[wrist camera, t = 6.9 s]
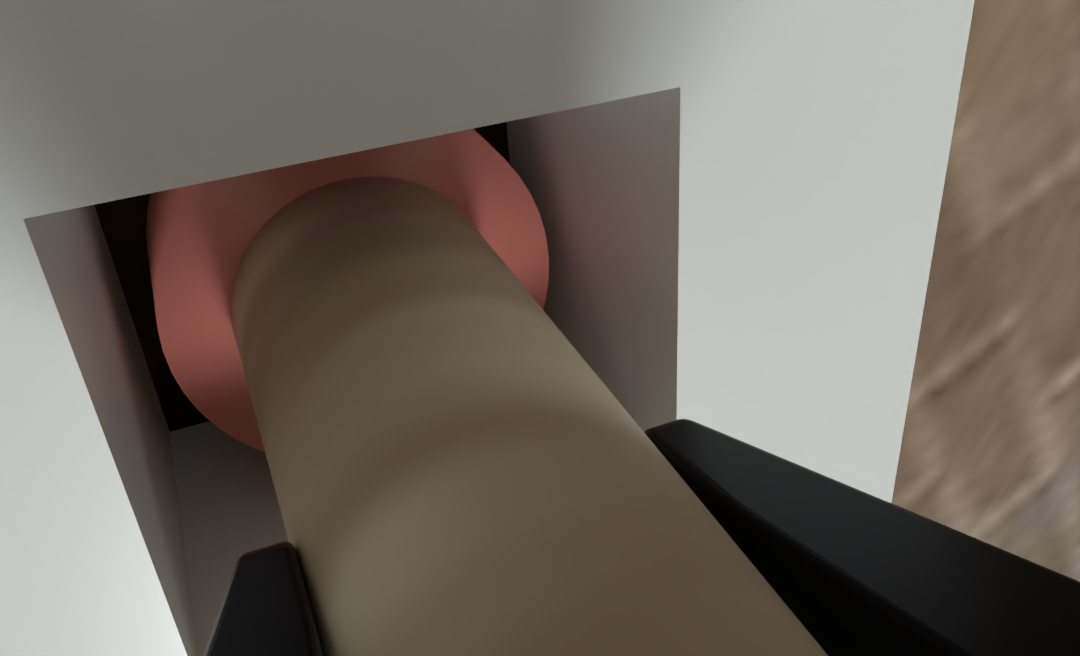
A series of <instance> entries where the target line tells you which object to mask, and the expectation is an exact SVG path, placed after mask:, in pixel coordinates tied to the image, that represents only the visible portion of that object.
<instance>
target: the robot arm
mask: <svg viewBox="0 0 1080 656" xmlns="http://www.w3.org/2000/svg"><path fill="white" fill-rule="evenodd" d="M644 433H645V434H646V435H647V436H648V438H649V439H650V440H651V441H652V443H653V444H654V445H655V446H656V447H657V449H658V450H659V451H660V452H661V453H662V455H663V456H664V457H665V458H666V459H667V461H668V462H669V463H670V464H671V466H672V467H673V468H674V469H675V470H676V472H677V473H678V474H679V475H680V476H681V478H682V479H683V480H684V481H685V483H686V484H687V485H688V486H689V487H690V489H691V490H692V491H693V492H694V493H695V495H696V496H697V497H698V498H699V499H700V501H701V502H702V503H703V504H704V506H705V507H706V508H707V509H708V510H709V512H710V513H711V514H712V515H713V516H714V518H715V519H716V520H717V521H718V523H719V524H720V525H721V526H722V527H723V529H724V530H725V531H726V532H727V533H728V535H729V536H730V537H731V538H732V540H733V541H734V542H735V543H736V544H737V546H738V547H739V548H740V549H741V550H742V552H743V553H744V554H745V555H746V556H747V558H748V559H749V560H750V561H751V563H752V564H753V565H754V566H755V567H756V569H757V570H758V571H759V572H760V573H761V575H762V576H763V577H764V578H765V580H766V581H767V582H768V583H769V584H770V586H771V587H772V588H773V589H774V590H775V592H776V593H777V594H778V595H779V596H780V598H781V599H782V600H783V601H784V603H785V604H786V605H787V606H788V607H789V609H790V610H791V611H792V612H793V613H794V615H795V616H796V617H797V618H798V620H799V621H800V622H801V623H802V624H803V626H804V627H805V628H806V629H807V630H808V632H809V633H810V634H811V635H812V637H813V638H814V639H815V640H816V641H817V643H818V644H819V645H820V646H821V647H822V649H823V650H824V651H825V652H826V653H827V655H828V656H1080V582H1079V581H1077V580H1074V579H1072V578H1069V577H1067V576H1065V575H1062V574H1060V573H1057V572H1055V571H1053V570H1050V569H1048V568H1045V567H1043V566H1041V565H1038V564H1036V563H1033V562H1031V561H1029V560H1026V559H1024V558H1021V557H1019V556H1017V555H1014V554H1012V553H1009V552H1007V551H1005V550H1002V549H1000V548H997V547H995V546H993V545H990V544H988V543H985V542H983V541H981V540H978V539H976V538H973V537H971V536H969V535H966V534H964V533H961V532H959V531H957V530H954V529H952V528H949V527H947V526H945V525H942V524H940V523H937V522H935V521H933V520H930V519H928V518H925V517H923V516H921V515H918V514H916V513H913V512H911V511H908V510H906V509H904V508H901V507H899V506H896V505H894V504H892V503H889V502H887V501H884V500H882V499H880V498H877V497H875V496H872V495H870V494H868V493H865V492H863V491H860V490H858V489H856V488H853V487H851V486H848V485H846V484H844V483H841V482H839V481H836V480H834V479H832V478H829V477H827V476H824V475H822V474H820V473H817V472H815V471H812V470H810V469H808V468H805V467H803V466H800V465H798V464H796V463H793V462H791V461H788V460H786V459H784V458H781V457H779V456H776V455H774V454H772V453H769V452H767V451H764V450H762V449H760V448H757V447H755V446H752V445H750V444H748V443H745V442H743V441H740V440H738V439H736V438H733V437H731V436H728V435H726V434H724V433H721V432H719V431H716V430H714V429H712V428H709V427H707V426H704V425H702V424H700V423H697V422H695V421H692V420H689V419H678V420H674V421H671V422H668V423H665V424H661V425H658V426H655V427H652V428H649V429H647V430H646V431H645V432H644ZM204 656H324V655H323V651H322V647H321V644H320V640H319V636H318V632H317V629H316V625H315V621H314V617H313V614H312V610H311V606H310V603H309V599H308V595H307V591H306V588H305V584H304V580H303V576H302V573H301V569H300V565H299V562H298V558H297V554H296V550H295V547H294V545H293V544H292V543H290V542H287V541H284V542H280V543H276V544H273V545H270V546H267V547H264V548H260V549H257V550H254V551H251V552H247V553H245V554H243V555H242V556H241V557H240V558H239V559H238V561H237V563H236V565H235V568H234V571H233V573H232V576H231V579H230V582H229V585H228V588H227V591H226V594H225V596H224V599H223V602H222V605H221V608H220V611H219V614H218V617H217V619H216V622H215V625H214V628H213V631H212V634H211V637H210V640H209V642H208V645H207V648H206V651H205V654H204Z"/></svg>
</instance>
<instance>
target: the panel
mask: <svg viewBox="0 0 1080 656" xmlns="http://www.w3.org/2000/svg"><path fill="white" fill-rule="evenodd" d="M973 6H974V0H0V656H204V654H205V651H206V648H207V645H208V642H209V640H210V637H211V634H212V631H213V628H214V625H215V622H216V619H217V617H218V614H219V611H220V608H221V605H222V602H223V599H224V596H225V594H226V591H227V588H228V585H229V582H230V579H231V576H232V573H233V571H234V568H235V565H236V563H237V561H238V559H239V558H240V557H241V556H242V555H243V554H245V553H247V552H251V551H254V550H257V549H260V548H264V547H267V546H270V545H273V544H276V543H280V542H284V541H287V542H289V541H288V537H287V533H286V529H285V525H284V522H283V518H282V514H281V510H280V506H279V503H278V499H277V495H276V491H275V487H274V484H273V480H272V476H271V472H270V468H269V465H268V461H267V457H266V453H265V452H262V451H259V450H256V449H254V448H252V447H250V446H248V445H246V444H244V443H242V442H240V441H238V440H236V439H234V438H233V437H231V436H230V435H228V434H227V433H225V432H224V431H222V430H221V429H219V428H218V427H216V426H215V425H214V424H213V423H212V422H211V421H208V422H204V423H201V424H197V425H193V426H189V427H186V428H182V429H178V430H175V431H171V432H169V429H168V426H167V423H166V420H165V417H164V414H163V411H162V408H161V405H160V402H159V399H158V396H157V393H156V390H155V386H154V383H153V380H152V377H151V374H150V371H149V368H148V365H147V362H146V359H145V356H144V353H143V350H142V347H141V344H140V341H139V338H138V335H137V332H136V329H135V326H134V323H133V320H132V317H131V314H130V311H129V308H128V305H127V302H126V299H125V296H124V293H123V290H122V287H121V284H120V281H119V278H118V275H117V272H116V269H115V266H114V263H113V260H112V257H111V254H110V251H109V248H108V245H107V242H106V239H105V236H104V233H103V230H102V227H101V224H100V221H99V218H98V215H97V211H96V208H95V204H100V203H105V202H110V201H115V200H120V199H125V198H130V197H135V196H140V195H145V194H150V193H155V192H160V191H165V190H170V189H175V188H180V187H184V186H189V185H194V184H199V183H204V182H209V181H214V180H219V179H224V178H229V177H234V176H239V175H244V174H249V173H254V172H259V171H264V170H269V169H274V168H279V167H284V166H289V165H294V164H299V163H304V162H309V161H314V160H319V159H324V158H329V157H334V156H339V155H344V154H349V153H354V152H359V151H364V150H369V149H374V148H379V147H384V146H389V145H394V144H399V143H404V142H409V141H414V140H419V139H424V138H429V137H434V136H439V135H444V134H449V133H453V132H458V131H463V130H468V129H473V128H478V127H483V126H488V125H493V124H498V123H503V122H506V126H507V137H508V149H509V161H510V166H511V167H512V168H513V169H514V170H515V171H516V173H517V174H518V175H519V176H520V178H521V179H522V181H523V183H524V184H525V186H526V187H527V189H528V190H529V192H530V193H531V195H532V198H533V200H534V202H535V204H536V206H537V209H538V211H539V213H540V216H541V220H542V223H543V226H544V230H545V233H546V239H547V246H548V254H549V281H548V288H547V295H546V301H545V305H544V309H543V310H544V312H545V313H546V314H547V315H548V316H549V318H550V319H551V320H552V321H553V322H554V324H555V325H556V326H557V327H558V329H559V330H560V331H561V332H562V333H563V335H564V336H565V337H566V338H567V339H568V341H569V342H570V343H571V344H572V346H573V347H574V348H575V349H576V350H577V352H578V353H579V354H580V355H581V356H582V358H583V359H584V360H585V361H586V362H587V364H588V365H589V366H590V367H591V369H592V370H593V371H594V372H595V373H596V375H597V376H598V377H599V378H600V379H601V381H602V382H603V383H604V384H605V386H606V387H607V388H608V389H609V390H610V392H611V393H612V394H613V395H614V396H615V398H616V399H617V400H618V401H619V403H620V404H621V405H622V406H623V407H624V409H625V410H626V411H627V412H628V413H629V415H630V416H631V417H632V418H633V419H634V421H635V422H636V423H637V424H638V426H639V427H640V428H641V429H642V430H643V432H645V431H646V430H647V429H649V428H652V427H655V426H658V425H661V424H665V423H668V422H671V421H674V420H678V419H689V420H692V421H695V422H697V423H700V424H702V425H704V426H707V427H709V428H712V429H714V430H716V431H719V432H721V433H724V434H726V435H728V436H731V437H733V438H736V439H738V440H740V441H743V442H745V443H748V444H750V445H752V446H755V447H757V448H760V449H762V450H764V451H767V452H769V453H772V454H774V455H776V456H779V457H781V458H784V459H786V460H788V461H791V462H793V463H796V464H798V465H800V466H803V467H805V468H808V469H810V470H812V471H815V472H817V473H820V474H822V475H824V476H827V477H829V478H832V479H834V480H836V481H839V482H841V483H844V484H846V485H848V486H851V487H853V488H856V489H858V490H860V491H863V492H865V493H868V494H870V495H872V496H875V497H877V498H880V499H882V500H884V501H887V502H889V503H891V502H892V496H893V490H894V484H895V478H896V472H897V466H898V460H899V454H900V448H901V442H902V436H903V429H904V423H905V417H906V411H907V405H908V399H909V393H910V387H911V381H912V375H913V369H914V363H915V357H916V351H917V345H918V339H919V333H920V327H921V321H922V315H923V309H924V303H925V297H926V290H927V284H928V278H929V272H930V266H931V260H932V254H933V248H934V242H935V236H936V230H937V224H938V218H939V212H940V206H941V200H942V194H943V188H944V182H945V176H946V170H947V164H948V158H949V152H950V145H951V139H952V133H953V127H954V121H955V115H956V109H957V103H958V97H959V91H960V85H961V79H962V73H963V67H964V61H965V55H966V49H967V43H968V37H969V31H970V25H971V19H972V13H973Z"/></svg>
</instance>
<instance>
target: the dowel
mask: <svg viewBox="0 0 1080 656" xmlns="http://www.w3.org/2000/svg"><path fill="white" fill-rule="evenodd" d="M230 302H231V320H232V326H233V331H234V335H235V339H236V343H237V347H238V351H239V354H240V358H241V362H242V366H243V370H244V373H245V377H246V381H247V385H248V389H249V392H250V396H251V400H252V404H253V408H254V411H255V415H256V419H257V423H258V427H259V430H260V434H261V438H262V442H263V446H264V449H265V453H266V457H267V461H268V465H269V468H270V472H271V476H272V480H273V484H274V487H275V491H276V495H277V499H278V503H279V506H280V510H281V514H282V518H283V522H284V525H285V529H286V533H287V537H288V541H289V542H290V543H292V544H293V545H294V547H295V550H296V554H297V558H298V562H299V565H300V569H301V573H302V576H303V580H304V584H305V588H306V591H307V595H308V599H309V603H310V606H311V610H312V614H313V617H314V621H315V625H316V629H317V632H318V636H319V640H320V644H321V647H322V651H323V655H324V656H828V655H827V653H826V652H825V651H824V650H823V649H822V647H821V646H820V645H819V644H818V643H817V641H816V640H815V639H814V638H813V637H812V635H811V634H810V633H809V632H808V630H807V629H806V628H805V627H804V626H803V624H802V623H801V622H800V621H799V620H798V618H797V617H796V616H795V615H794V613H793V612H792V611H791V610H790V609H789V607H788V606H787V605H786V604H785V603H784V601H783V600H782V599H781V598H780V596H779V595H778V594H777V593H776V592H775V590H774V589H773V588H772V587H771V586H770V584H769V583H768V582H767V581H766V580H765V578H764V577H763V576H762V575H761V573H760V572H759V571H758V570H757V569H756V567H755V566H754V565H753V564H752V563H751V561H750V560H749V559H748V558H747V556H746V555H745V554H744V553H743V552H742V550H741V549H740V548H739V547H738V546H737V544H736V543H735V542H734V541H733V540H732V538H731V537H730V536H729V535H728V533H727V532H726V531H725V530H724V529H723V527H722V526H721V525H720V524H719V523H718V521H717V520H716V519H715V518H714V516H713V515H712V514H711V513H710V512H709V510H708V509H707V508H706V507H705V506H704V504H703V503H702V502H701V501H700V499H699V498H698V497H697V496H696V495H695V493H694V492H693V491H692V490H691V489H690V487H689V486H688V485H687V484H686V483H685V481H684V480H683V479H682V478H681V476H680V475H679V474H678V473H677V472H676V470H675V469H674V468H673V467H672V466H671V464H670V463H669V462H668V461H667V459H666V458H665V457H664V456H663V455H662V453H661V452H660V451H659V450H658V449H657V447H656V446H655V445H654V444H653V443H652V441H651V440H650V439H649V438H648V436H647V435H646V434H645V433H644V432H643V430H642V429H641V428H640V427H639V426H638V424H637V423H636V422H635V421H634V419H633V418H632V417H631V416H630V415H629V413H628V412H627V411H626V410H625V409H624V407H623V406H622V405H621V404H620V403H619V401H618V400H617V399H616V398H615V396H614V395H613V394H612V393H611V392H610V390H609V389H608V388H607V387H606V386H605V384H604V383H603V382H602V381H601V379H600V378H599V377H598V376H597V375H596V373H595V372H594V371H593V370H592V369H591V367H590V366H589V365H588V364H587V362H586V361H585V360H584V359H583V358H582V356H581V355H580V354H579V353H578V352H577V350H576V349H575V348H574V347H573V346H572V344H571V343H570V342H569V341H568V339H567V338H566V337H565V336H564V335H563V333H562V332H561V331H560V330H559V329H558V327H557V326H556V325H555V324H554V322H553V321H552V320H551V319H550V318H549V316H548V315H547V314H546V313H545V312H544V310H543V309H542V308H541V307H540V306H539V304H538V303H537V302H536V301H535V299H534V298H533V297H532V296H531V295H530V293H529V292H528V291H527V290H526V289H525V287H524V286H523V285H522V284H521V282H520V281H519V280H518V279H517V278H516V276H515V275H514V274H513V273H512V272H511V270H510V269H509V268H508V267H507V265H506V264H505V263H504V262H503V261H502V259H501V258H500V257H499V256H498V255H497V253H496V252H495V251H494V250H493V249H492V247H491V246H490V245H489V244H488V242H487V241H486V240H485V239H484V238H483V236H482V235H481V234H480V233H479V232H478V230H477V229H476V228H475V227H474V225H473V224H472V223H471V222H470V221H469V219H468V218H467V217H466V216H465V215H464V214H463V213H462V212H461V211H460V210H459V209H458V208H457V207H456V206H455V205H454V204H453V203H451V202H450V201H449V200H447V199H446V198H445V197H444V196H442V195H440V194H438V193H437V192H435V191H433V190H431V189H429V188H427V187H424V186H422V185H419V184H417V183H414V182H410V181H406V180H402V179H398V178H389V177H358V178H351V179H344V180H341V181H337V182H333V183H330V184H326V185H324V186H321V187H319V188H316V189H314V190H311V191H309V192H307V193H305V194H304V195H302V196H300V197H298V198H297V199H295V200H293V201H292V202H290V203H289V204H287V205H286V206H285V207H283V208H282V209H281V210H279V211H278V212H277V213H276V214H275V215H274V216H273V217H272V218H271V219H269V220H268V221H267V222H266V223H265V224H264V225H263V227H262V228H261V229H260V230H259V232H258V233H257V234H256V235H255V237H254V238H253V239H252V241H251V242H250V244H249V246H248V247H247V249H246V251H245V252H244V254H243V256H242V259H241V261H240V263H239V266H238V268H237V271H236V274H235V278H234V282H233V285H232V293H231V301H230Z"/></svg>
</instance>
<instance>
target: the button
mask: <svg viewBox="0 0 1080 656" xmlns="http://www.w3.org/2000/svg"><path fill="white" fill-rule="evenodd" d="M358 177H389V178H398V179H402V180H406V181H410V182H414V183H417V184H419V185H422V186H424V187H427V188H429V189H431V190H433V191H435V192H437V193H438V194H440V195H442V196H444V197H445V198H446V199H447V200H449V201H450V202H451V203H453V204H454V205H455V206H456V207H457V208H458V209H459V210H460V211H461V212H462V213H463V214H464V215H465V216H466V217H467V218H468V219H469V221H470V222H471V223H472V224H473V225H474V227H475V228H476V229H477V230H478V232H479V233H480V234H481V235H482V236H483V238H484V239H485V240H486V241H487V242H488V244H489V245H490V246H491V247H492V249H493V250H494V251H495V252H496V253H497V255H498V256H499V257H500V258H501V259H502V261H503V262H504V263H505V264H506V265H507V267H508V268H509V269H510V270H511V272H512V273H513V274H514V275H515V276H516V278H517V279H518V280H519V281H520V282H521V284H522V285H523V286H524V287H525V289H526V290H527V291H528V292H529V293H530V295H531V296H532V297H533V298H534V299H535V301H536V302H537V303H538V304H539V306H540V307H541V308H542V309H544V305H545V301H546V295H547V288H548V281H549V254H548V246H547V239H546V233H545V230H544V226H543V223H542V220H541V216H540V213H539V211H538V209H537V206H536V204H535V202H534V200H533V198H532V195H531V193H530V192H529V190H528V189H527V187H526V186H525V184H524V183H523V181H522V179H521V178H520V176H519V175H518V174H517V173H516V171H515V170H514V169H513V168H512V167H511V166H510V165H509V163H508V162H507V161H506V160H505V159H504V158H503V157H502V156H501V155H500V154H499V153H498V152H497V151H496V150H495V149H494V148H493V147H492V146H491V145H490V144H489V143H488V142H487V141H486V140H485V139H484V138H483V137H482V136H481V135H480V134H479V133H477V132H476V131H475V130H474V129H468V130H463V131H458V132H453V133H449V134H444V135H439V136H434V137H429V138H424V139H419V140H414V141H409V142H404V143H399V144H394V145H389V146H384V147H379V148H374V149H369V150H364V151H359V152H354V153H349V154H344V155H339V156H334V157H329V158H324V159H319V160H314V161H309V162H304V163H299V164H294V165H289V166H284V167H279V168H274V169H269V170H264V171H259V172H254V173H249V174H244V175H239V176H234V177H229V178H224V179H219V180H214V181H209V182H204V183H199V184H194V185H189V186H184V187H180V188H175V189H170V190H165V191H160V192H155V193H151V195H150V199H149V204H148V209H147V222H146V239H147V253H148V260H149V268H150V275H151V283H152V291H153V298H154V306H155V314H156V321H157V328H158V333H159V337H160V341H161V346H162V350H163V353H164V355H165V358H166V360H167V363H168V365H169V368H170V370H171V373H172V374H173V376H174V378H175V379H176V381H177V383H178V384H179V386H180V388H181V389H182V391H183V393H184V394H185V395H186V396H187V398H188V399H189V400H190V401H191V402H192V404H193V405H194V406H195V407H196V408H197V410H198V411H199V412H200V413H202V414H203V415H204V416H205V417H206V418H207V419H208V420H209V421H211V422H212V423H213V424H214V425H215V426H216V427H218V428H219V429H221V430H222V431H224V432H225V433H227V434H228V435H230V436H231V437H233V438H234V439H236V440H238V441H240V442H242V443H244V444H246V445H248V446H250V447H252V448H254V449H256V450H259V451H262V452H265V449H264V446H263V442H262V438H261V434H260V430H259V427H258V423H257V419H256V415H255V411H254V408H253V404H252V400H251V396H250V392H249V389H248V385H247V381H246V377H245V373H244V370H243V366H242V362H241V358H240V354H239V351H238V347H237V343H236V339H235V335H234V331H233V326H232V320H231V302H230V301H231V293H232V285H233V282H234V278H235V274H236V271H237V268H238V266H239V263H240V261H241V259H242V256H243V254H244V252H245V251H246V249H247V247H248V246H249V244H250V242H251V241H252V239H253V238H254V237H255V235H256V234H257V233H258V232H259V230H260V229H261V228H262V227H263V225H264V224H265V223H266V222H267V221H268V220H269V219H271V218H272V217H273V216H274V215H275V214H276V213H277V212H278V211H279V210H281V209H282V208H283V207H285V206H286V205H287V204H289V203H290V202H292V201H293V200H295V199H297V198H298V197H300V196H302V195H304V194H305V193H307V192H309V191H311V190H314V189H316V188H319V187H321V186H324V185H326V184H330V183H333V182H337V181H341V180H344V179H351V178H358Z"/></svg>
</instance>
